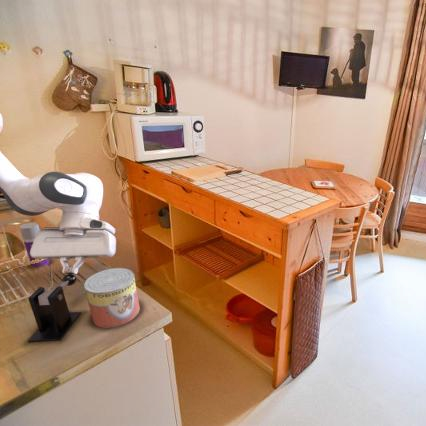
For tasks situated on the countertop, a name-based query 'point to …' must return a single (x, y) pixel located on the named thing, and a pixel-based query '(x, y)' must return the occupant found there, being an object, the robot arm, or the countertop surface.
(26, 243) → the container
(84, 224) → the robot arm
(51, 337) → the bracket
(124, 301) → the canned food
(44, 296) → the lever
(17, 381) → the countertop surface
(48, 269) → the countertop surface
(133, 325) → the countertop surface
